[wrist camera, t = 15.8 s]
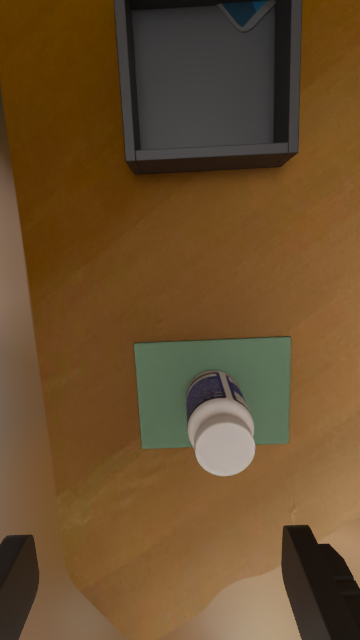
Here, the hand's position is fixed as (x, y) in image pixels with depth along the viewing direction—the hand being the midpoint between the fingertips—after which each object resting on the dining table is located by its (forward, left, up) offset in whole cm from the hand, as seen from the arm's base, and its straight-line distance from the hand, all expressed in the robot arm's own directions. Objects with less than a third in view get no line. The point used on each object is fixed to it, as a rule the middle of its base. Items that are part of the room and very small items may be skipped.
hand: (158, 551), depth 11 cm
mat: (+4, -6, -24) cm, 25 cm away
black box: (+4, +23, -24) cm, 34 cm away
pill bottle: (+4, -6, -24) cm, 25 cm away
